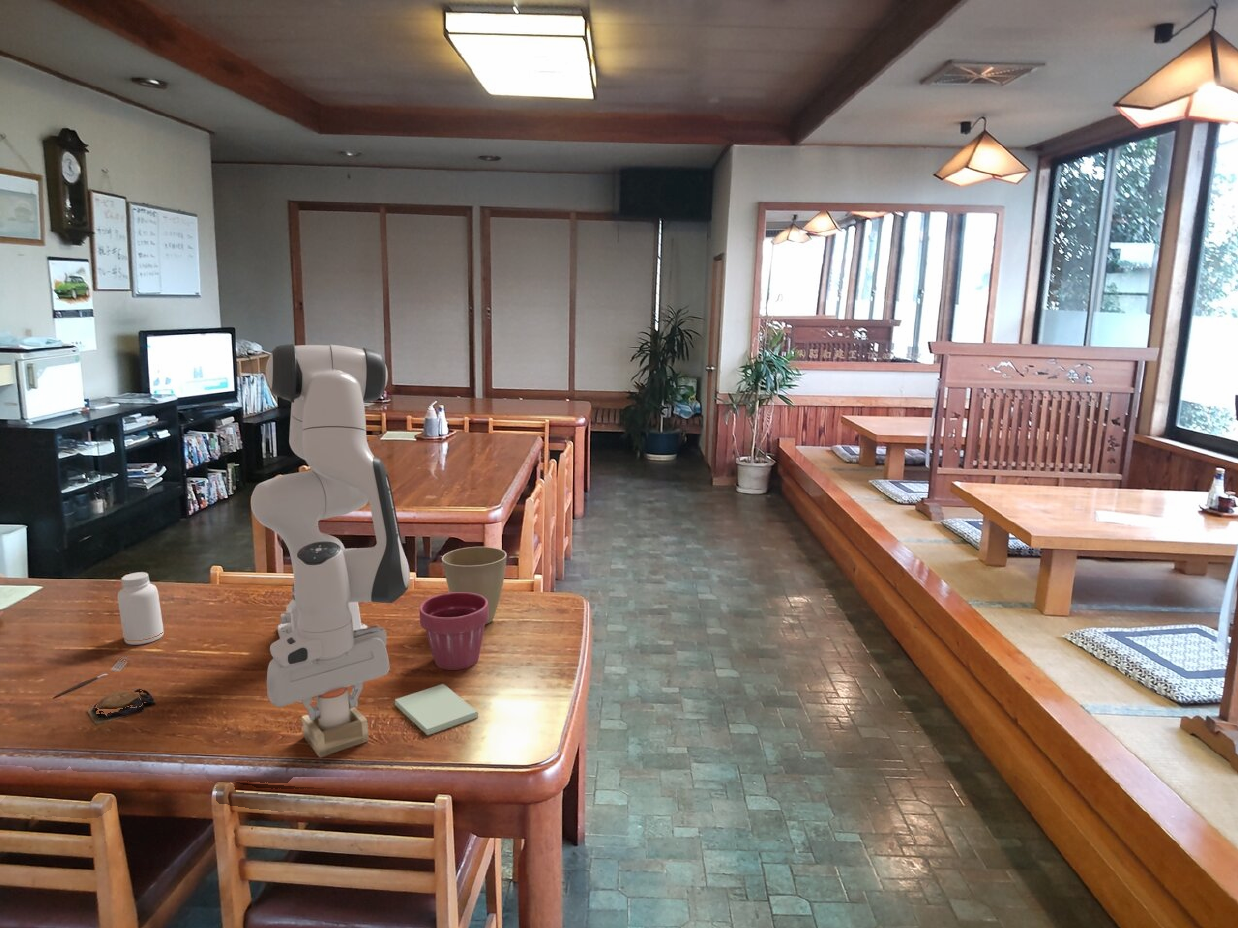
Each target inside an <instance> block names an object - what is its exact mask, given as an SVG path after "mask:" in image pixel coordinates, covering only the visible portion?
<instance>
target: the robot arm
mask: <svg viewBox="0 0 1238 928" xmlns="http://www.w3.org/2000/svg"><path fill="white" fill-rule="evenodd" d="M265 365H266V366H265V376H266V377H265V378H266V381H267V383H268V386H269V388H270V391H271V393H272V394H274V395H275V396H276V397H277V398H280V399H283V400H286V401H289V402H291V408H290V420H289V421H290V422H289V438H288V439H289V440H288V443H289V446H290V449H291V451H292V452H293V453H294V455H296V456H297V457H299V458H300V459H302V460H304V461H305V462H306V464H307V465H308V466H309V468H310V469H308V470H306V471H300V472H299V471H298V472H294V473H288V474H281V475H278V476H274V477H272V478H270V479H267V480H265V481H262V482H259V483H258V484H256V486H254V487H255V488H254V489H253V491H252V493H251V498H250V507H251V508H250V509H251V511H252V513H253V515H254V517H255V519H256V520H257V521H258V522H259V523H260V524H261V525H262V526H264V527H265V528H268V529H270V530H271V531H273V532H274V533H276V534H277V535H278V536H279V537H280V538H281V539H282V540H283V542H284V543H285V545H286V547H287V548H288V551H289V554H290V561H291V566H292V574H293V583H292V590H291V593H292V598H291V599H292V600H291V601H290V602H289V603H288V604H287V605H286V607H285V609H286V612H285V613H284V612H283V613H281V614H280V616H279V617H280V624H278V625H277V633H278V637H279V638H278V639H277V640H276V641H273V642H272V643H271V644H270V646H269V652H270V655H271V656H272V659H271V660H270V661H269V663H268V666H267V671H266V673H267V674H266V691H267V697H268V699H269V702H270V703H271V704H272V705H273V706H275V707H277V708H282V707H285V706H288V705H292V704H295V703H298V702H300V703H301V704H303V706H304V707H305V708H306V710H307V715H308V716H309V719H310V720H311V721H313V720H316V719H319V718H320V715H319V714H320V710H319V708H317V705H314V706H311V705H310V704H312V703H313V698H316V696H319V695H322V694H324V693H327V692H330V691H333V690H337V689H340V688H343V687H347V688H348V687H351V686H352V689H351V691H350V694H348V700H349V709H351V708H354V707H355V708H356V707H358V706H359V703H358V702H359V701H358V698H359V696H360V695H361V692H362V690H363V688H364V682H369V681H371V680H375V679H378V678H382V677H385V676H386V675H387V674H388V672H389V670H391V669H390V659H389V656H388V651H387V647H386V645H387V640H388V639H387V632H386V630H385V628H384V627H381V626H378V625H376V624H375V625H370V626H369V627H368V625H366V624H364V623H363V622H361V621H362V620H361V614H360V607H359V603H369V602H372V603H379V604H383V603H384V604H392V603H394V602H395V601H396V600H398V599H399V598H400V597H402V596H403V595H404V594H405V593H406V591H408V589H409V584H410V578H411V576H410V575H411V573H410V565H409V563H408V559H407V557H406V555H405V554H406V553H405V548H404V546H403V541H402V537H401V532H400V531H401V530H400V525H399V521H398V516H397V511H396V505H395V501H394V496H393V492H392V487H391V481H390V477H389V474H388V472H387V471H388V470H387V468H386V466H385V464H384V462H383V460H382V459H380V458H379V457H376V456H374V454H373V453H372V450H371V449H370V446H369V444H368V438H367V421H366V419H367V418H366V410H365V403H369V402H374V401H377V400H379V399H380V398H382V396H383V394H384V393H385V390H386V387H387V383H388V380H389V379H388V377H389V375H388V373H389V372H388V368H387V365H386V361H385V358H384V357H383V355H382V354H381V353H380V352H379V351H377V350H374V349H370V348H365V347H362V348H357V347H351V346H346V345H337V344H328V345H325V344H324V345H323V344H304V345H303V344H301V345H294V343H288V344H280V345H277V346H275V347H274V348H273V349H272V350H271V353H270V355H269V357H268V359H267V362H266V364H265ZM367 504H369V509H370V513H371V518H372V524H373V529H374V533H375V538H376V539H375V540H376V545H375V546H372V547H359V548H357V547H354V548H353V547H351V548H345V546H344V543H342V541H341V540H340V539H339V538H337V537H336V536H333V535H331V534H327V533H324V532H321V531H320V528H319V521H321V520H326V519H330V518H335V517H340V516H344V515H348V514H350V513H352V512H354V511H357V510H360V509H361V508H363V507H365V506H366V505H367Z"/></svg>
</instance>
